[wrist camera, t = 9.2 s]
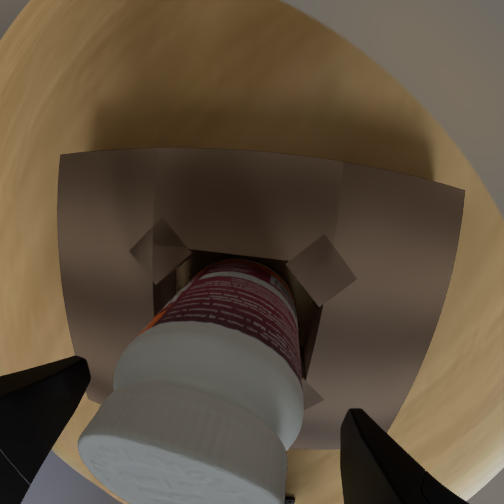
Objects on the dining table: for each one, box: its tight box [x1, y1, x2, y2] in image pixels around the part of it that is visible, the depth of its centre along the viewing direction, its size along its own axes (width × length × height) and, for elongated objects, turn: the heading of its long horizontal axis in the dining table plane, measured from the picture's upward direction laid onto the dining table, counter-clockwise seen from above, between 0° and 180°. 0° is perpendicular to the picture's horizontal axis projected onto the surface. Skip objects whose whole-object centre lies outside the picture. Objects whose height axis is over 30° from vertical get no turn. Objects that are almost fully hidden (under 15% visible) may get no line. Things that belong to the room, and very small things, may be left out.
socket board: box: [57, 148, 465, 449], centre depth 14 cm, size 16×20×3 cm
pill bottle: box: [78, 258, 304, 504], centre depth 10 cm, size 6×6×11 cm
